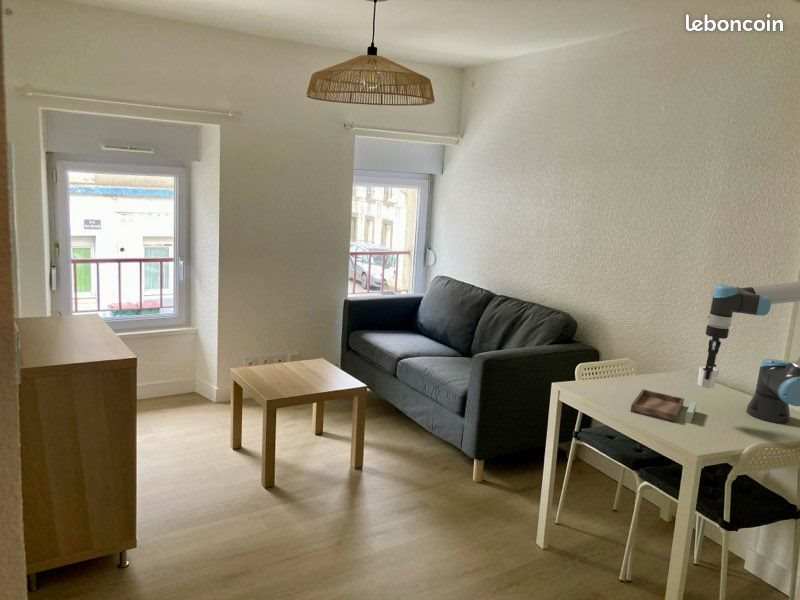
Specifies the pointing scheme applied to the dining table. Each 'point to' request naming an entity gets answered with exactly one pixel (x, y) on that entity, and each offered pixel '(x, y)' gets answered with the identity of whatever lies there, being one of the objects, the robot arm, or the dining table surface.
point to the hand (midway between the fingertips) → (706, 384)
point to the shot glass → (713, 379)
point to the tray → (657, 405)
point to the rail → (690, 411)
